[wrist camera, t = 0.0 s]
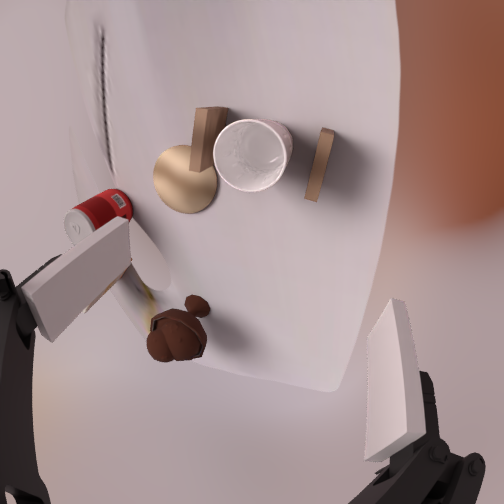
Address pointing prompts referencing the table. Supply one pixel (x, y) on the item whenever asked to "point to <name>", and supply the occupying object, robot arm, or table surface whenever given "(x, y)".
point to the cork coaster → (183, 181)
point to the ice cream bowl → (179, 332)
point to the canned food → (96, 214)
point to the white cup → (252, 153)
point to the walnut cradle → (214, 122)
